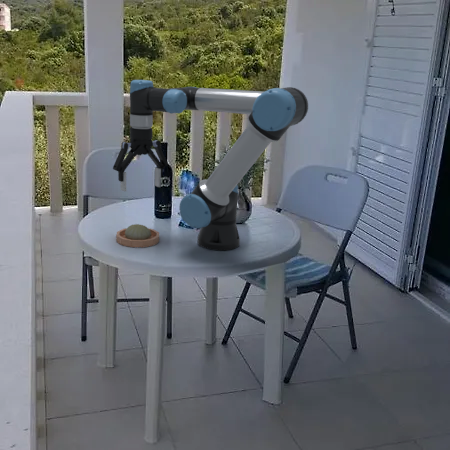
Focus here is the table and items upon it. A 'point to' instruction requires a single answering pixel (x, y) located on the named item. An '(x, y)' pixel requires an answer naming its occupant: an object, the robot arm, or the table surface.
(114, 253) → the table surface
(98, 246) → the table surface
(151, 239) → the saucer
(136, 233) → the sea urchin shell
